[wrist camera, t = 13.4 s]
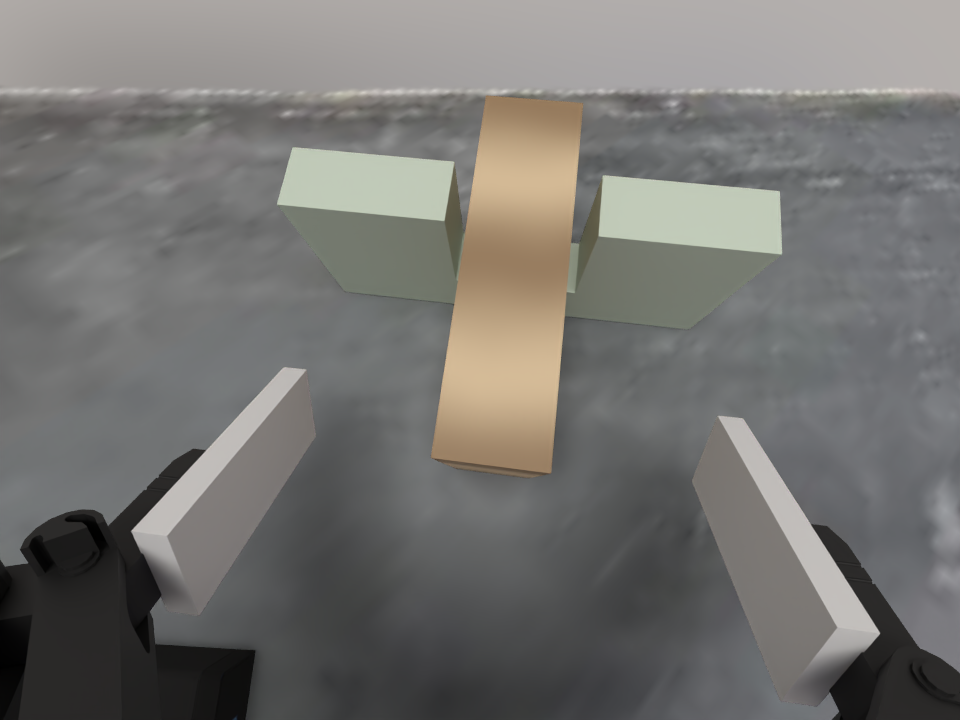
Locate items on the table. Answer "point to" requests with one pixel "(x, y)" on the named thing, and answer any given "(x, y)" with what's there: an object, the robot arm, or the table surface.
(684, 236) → the green u-shaped block
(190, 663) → the external hard drive
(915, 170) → the table surface
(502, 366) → the tan wooden block
